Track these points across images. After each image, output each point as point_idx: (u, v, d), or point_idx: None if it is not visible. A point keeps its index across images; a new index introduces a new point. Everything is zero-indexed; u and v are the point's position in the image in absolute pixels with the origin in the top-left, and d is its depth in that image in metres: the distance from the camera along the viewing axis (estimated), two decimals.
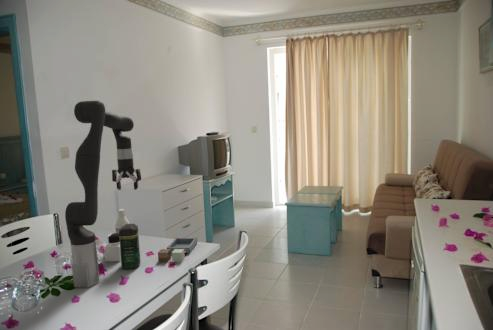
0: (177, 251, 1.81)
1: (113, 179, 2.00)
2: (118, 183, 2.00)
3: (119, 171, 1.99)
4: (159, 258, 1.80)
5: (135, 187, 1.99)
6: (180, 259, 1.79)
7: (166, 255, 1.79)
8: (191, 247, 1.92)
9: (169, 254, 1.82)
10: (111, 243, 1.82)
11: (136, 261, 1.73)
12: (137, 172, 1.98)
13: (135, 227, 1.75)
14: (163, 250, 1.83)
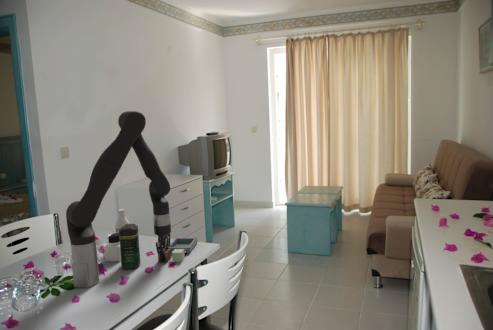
0: (177, 251, 1.81)
1: (163, 251, 1.77)
2: (164, 254, 1.79)
3: (163, 241, 1.78)
4: (159, 258, 1.80)
5: None
6: (180, 259, 1.79)
7: (166, 255, 1.79)
8: (191, 247, 1.92)
9: (169, 254, 1.82)
10: (111, 243, 1.82)
11: (136, 261, 1.73)
12: None
13: (135, 227, 1.75)
14: None
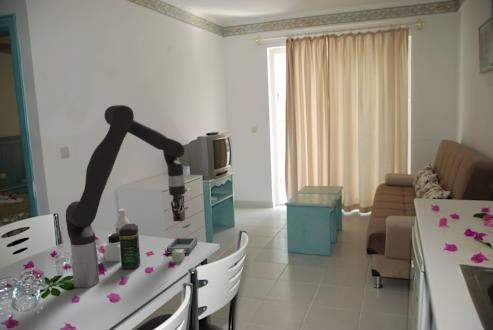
0: (177, 251, 1.81)
1: (177, 210, 1.86)
2: (179, 213, 1.88)
3: (178, 201, 1.87)
4: (174, 217, 1.89)
5: None
6: (180, 259, 1.79)
7: (181, 215, 1.88)
8: (191, 247, 1.92)
9: (183, 214, 1.91)
10: (111, 243, 1.82)
11: (136, 261, 1.73)
12: (183, 198, 1.95)
13: (135, 227, 1.75)
14: None
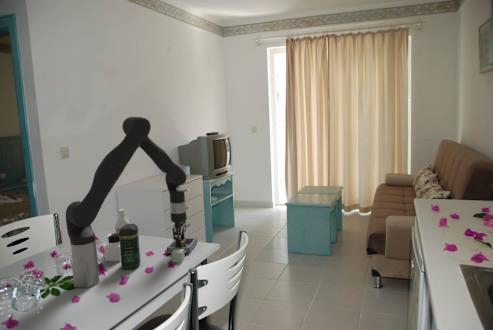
0: (177, 251, 1.81)
1: (178, 237, 1.87)
2: None
3: (179, 227, 1.89)
4: None
5: None
6: (180, 259, 1.79)
7: (182, 245, 1.90)
8: (191, 247, 1.92)
9: (185, 244, 1.93)
10: (111, 243, 1.82)
11: (136, 261, 1.73)
12: (185, 223, 1.98)
13: (135, 227, 1.75)
14: None
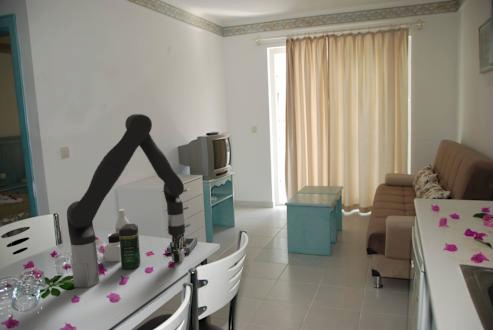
0: None
1: (177, 251, 1.76)
2: (178, 254, 1.78)
3: (177, 241, 1.77)
4: None
5: None
6: (180, 259, 1.79)
7: None
8: (191, 247, 1.92)
9: (185, 244, 1.93)
10: (111, 243, 1.82)
11: (136, 261, 1.73)
12: (183, 237, 1.86)
13: (135, 227, 1.75)
14: None
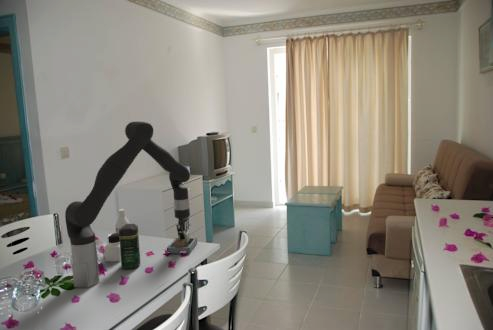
0: None
1: (183, 233, 1.94)
2: (184, 235, 1.96)
3: (183, 223, 1.95)
4: None
5: None
6: (186, 240, 1.97)
7: (182, 245, 1.90)
8: (191, 247, 1.92)
9: (185, 244, 1.93)
10: (111, 243, 1.82)
11: (136, 261, 1.73)
12: (188, 220, 2.04)
13: (135, 227, 1.75)
14: (179, 240, 1.94)
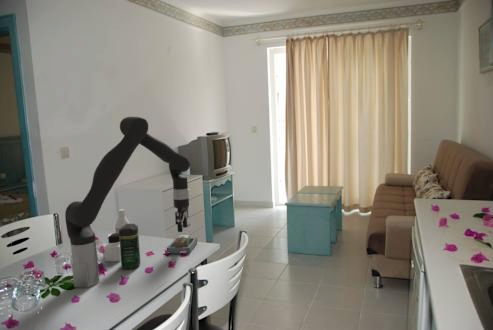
0: (183, 236, 1.99)
1: (180, 222, 1.91)
2: None
3: (182, 212, 1.94)
4: None
5: (186, 224, 2.02)
6: (186, 244, 1.97)
7: (182, 245, 1.90)
8: (191, 247, 1.92)
9: (185, 244, 1.93)
10: (111, 243, 1.82)
11: (136, 261, 1.73)
12: (187, 209, 2.03)
13: (135, 227, 1.75)
14: (179, 240, 1.94)
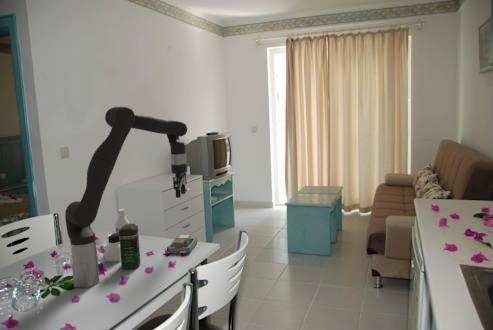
0: (183, 236, 1.99)
1: (178, 187, 1.89)
2: None
3: (180, 177, 1.91)
4: None
5: (185, 191, 2.00)
6: (186, 244, 1.97)
7: (182, 245, 1.90)
8: (191, 247, 1.92)
9: (185, 244, 1.93)
10: (111, 243, 1.82)
11: (136, 261, 1.73)
12: (185, 175, 2.01)
13: (135, 227, 1.75)
14: (179, 240, 1.94)
